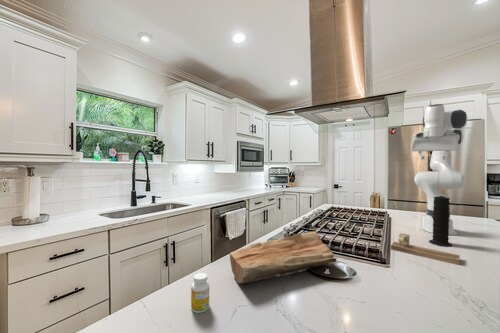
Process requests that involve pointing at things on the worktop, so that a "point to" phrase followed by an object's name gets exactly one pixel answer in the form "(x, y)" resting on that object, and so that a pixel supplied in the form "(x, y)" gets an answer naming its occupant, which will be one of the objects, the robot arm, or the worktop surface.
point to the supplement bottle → (200, 293)
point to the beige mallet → (403, 238)
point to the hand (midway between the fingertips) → (433, 159)
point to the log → (279, 257)
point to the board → (426, 252)
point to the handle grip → (441, 222)
